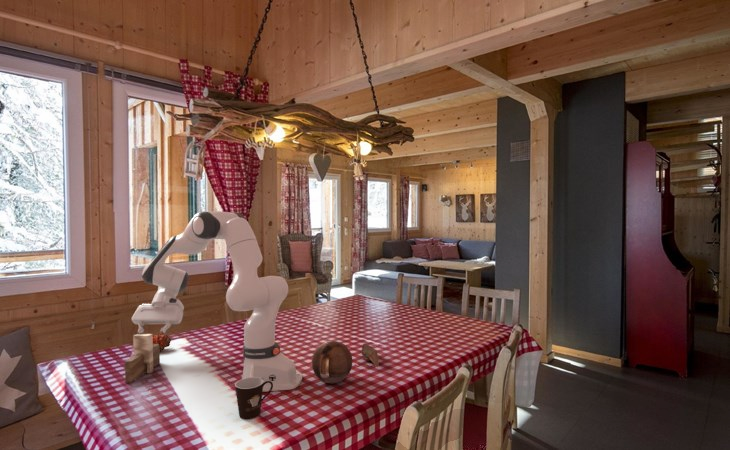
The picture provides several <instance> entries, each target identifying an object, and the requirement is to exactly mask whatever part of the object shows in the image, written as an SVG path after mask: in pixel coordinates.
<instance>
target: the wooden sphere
mask: <svg viewBox="0 0 730 450" xmlns="http://www.w3.org/2000/svg"><path fill="white" fill-rule="evenodd" d="M311 367H312V370H313V373H314V375H315V377H317V378H318V379H319V380H320V381H322V382H323V383H327V384H337V383H340V382H343V380H345V379H346V378H347V377H348V376H349V374H350V373H351V372H352V371H351V370H352V368H353V356H352V353H351V351H350V349H349V348H348V347H347V346H346V345H345V344H344V343H342V342H340V341H337V340H328V341H325V342H323V343H322V344H320V345H319V346H318V347H317V348H316V349H315V351H314V352H313V354H312V359H311Z"/></svg>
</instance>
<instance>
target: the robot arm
mask: <svg viewBox="0 0 730 450" xmlns="http://www.w3.org/2000/svg"><path fill="white" fill-rule="evenodd" d="M212 240H224V241H225V244H226V247H227V250H228V253H229V256H230V261H231V263H232V264H231V265H232V270H233V276H232V281H231V284H230V285H229V287H228V288H227V291H226V294H225V300H226V304H227V306H228V308H230V309H231V310H232V311H234V312H248V311H252V313H251V315H250V317H249V318H248V319H247V320H246V321H245V323H244V325H243V340H244V341H243V345H242V357H243V358H242V359H243V368H242V369H243V371H242V376H241V379H244V378H249V377H257V378H261V379H263V383H264V382H266V381H271V382H272V383H273V388H272V390H271V392H278V391H285V390H286V391H289V390H294V389H296V388H297V387H299V386H300V385H301V383H302V381H303V374H302V373H301V371H297V369H296V368H297V367H296V364H295V362H294V361H293V360H292V359H290V358H289V357H288V356H286V355H284V353H282V352H281V347H282V346H281V345H282V344H281V343H279V344H278V343H277V342H276V341H275V340H276V339H275V338H276V337H275V336H276V334H275V333H276V320H277V315H278V312H279V310H280V307H281V305H282V303H283V301H284V300H285V299H286V298H287V297H288V295H289V285H288V282H287V281H286V279H285V278H284V277H283V276H278V275H267V276H263V277H262V276H261V277H259V276H258V268H259V267H260V265H261V264H262V262H263V254H262V252H261V249H260V246H259V243H258V240H257V236H256V235H255V232H254V230H253V229H252V226H251V225H250V223H249V222H248V220H247V219H246V218H245V216H244V215H243V214H242V213H239V212H235V211H234V212H228V211H220V210H219V211H218V210H216V211H209V212H208V211H198V212H196V213H195V214H194V215H193V217H192V218H191V219H190V221H189V222H188V224H187V225H186V227H185V229H184V230H183V232H182V233H180V234H177V235H173V236H171V237H170V238H169V239H168V240H167V241H166V242H165V243H164V244H163V246H162V247H161V248H160V250H158V252H157V253H156V254H155V255H154V257H152V259H150V261H149V262H148V263H146V265H145V266H144V268H143V270H142V272H141V277H142V280H143V282H144V283H146V284H149V285H154V286H157V291H156V293H155V294H154V296H153V298H152V301H151V303H142V304H140V305H138V306H137V308H136V310H135V312H134V313H133V314H132V316H131V322H132V323H133V324H134V325H137V326H138V329H137V334H144V332H145V329H144V326H145V325H164V326H163V327H161V328H160V330H159V332H160V333H161V334H166V332H167V330H168V329H169V328H170V327H171V326H172V325H179V324H181V322H182V320H183V316H184V309H185V306H184V304H183V303H182V301H181V300H180V299H178V298H177V296H178V295H179V294H181V293H183V292H185V290H186V289H187V286H188V285H187V284H188V281H189V280H190V276H189V273H188V271H185V270H183V269H180V268H177V267H174V266H173V265H172V266H171V265H168V264H166V263H164V262H166V260H167V259H168V258H169V256H172V255H177V254H179V255H181V254H182V255H183V254H184V255H197V254H200V253H203V252H204V251H205V250H206V249H207V247H208V246H209V245H210V243H211V242H212ZM270 388H271V384H270V383H266V384H265V385H264V386H263V392H262V393H264V392H269V390H270Z"/></svg>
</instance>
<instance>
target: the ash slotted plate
mask: <svg viewBox="0 0 730 450" xmlns="http://www.w3.org/2000/svg"><path fill="white" fill-rule="evenodd" d="M132 340H133V356H135V355H136V354H143V363H147V372H146V374H151V373H153V372H154V367H153V333H137V334H133V337H132Z"/></svg>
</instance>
